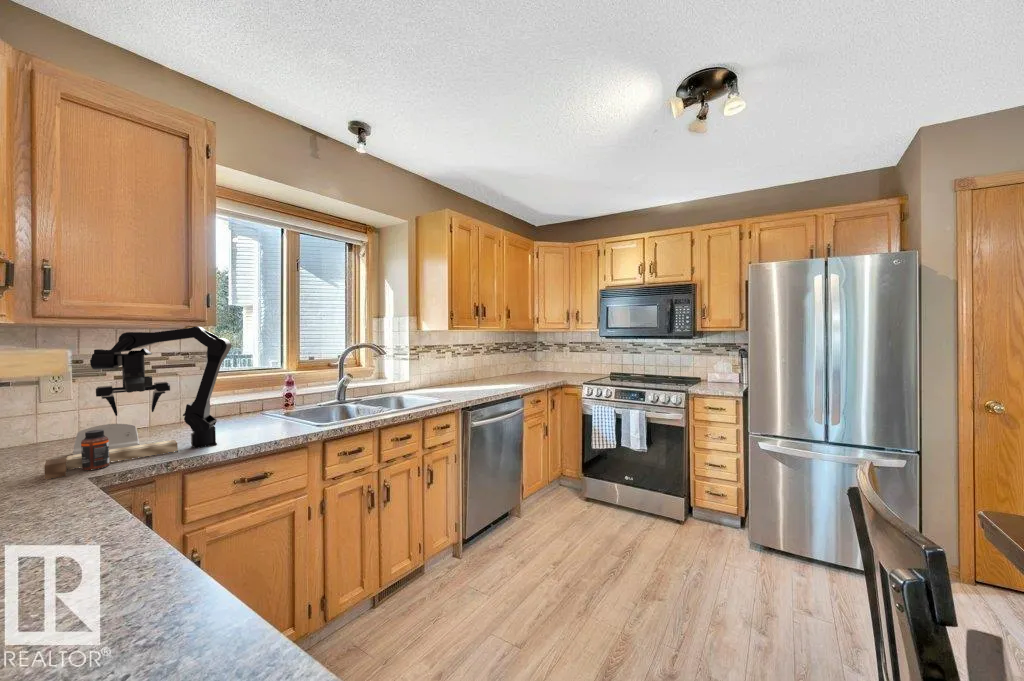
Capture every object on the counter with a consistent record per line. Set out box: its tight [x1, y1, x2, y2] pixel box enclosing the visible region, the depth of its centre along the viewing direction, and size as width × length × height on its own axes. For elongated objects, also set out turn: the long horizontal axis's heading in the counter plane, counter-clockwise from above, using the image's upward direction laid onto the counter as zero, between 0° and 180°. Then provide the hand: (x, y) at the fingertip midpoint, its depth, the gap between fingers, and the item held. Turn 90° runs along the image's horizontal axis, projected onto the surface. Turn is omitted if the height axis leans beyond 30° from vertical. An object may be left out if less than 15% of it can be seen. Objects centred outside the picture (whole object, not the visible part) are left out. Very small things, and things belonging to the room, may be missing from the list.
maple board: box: [66, 439, 178, 470], centre depth 136 cm, size 26×6×3 cm, turn 135°
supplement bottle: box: [81, 430, 110, 471], centre depth 127 cm, size 6×6×11 cm
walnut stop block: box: [43, 456, 68, 480], centre depth 120 cm, size 4×7×4 cm, turn 45°
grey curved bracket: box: [72, 423, 141, 455], centre depth 146 cm, size 17×5×10 cm, turn 130°
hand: (134, 413), depth 144 cm, fingers open, 9 cm apart
